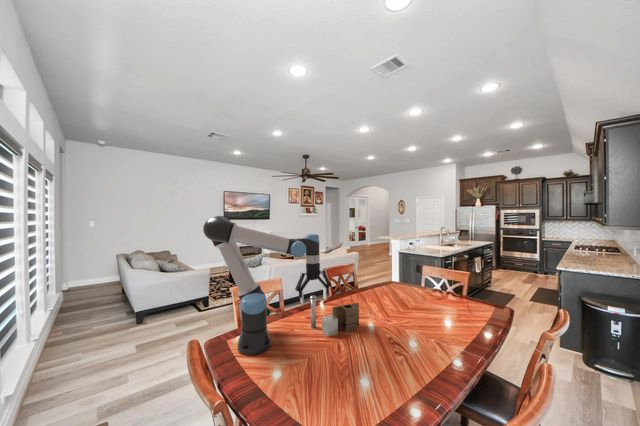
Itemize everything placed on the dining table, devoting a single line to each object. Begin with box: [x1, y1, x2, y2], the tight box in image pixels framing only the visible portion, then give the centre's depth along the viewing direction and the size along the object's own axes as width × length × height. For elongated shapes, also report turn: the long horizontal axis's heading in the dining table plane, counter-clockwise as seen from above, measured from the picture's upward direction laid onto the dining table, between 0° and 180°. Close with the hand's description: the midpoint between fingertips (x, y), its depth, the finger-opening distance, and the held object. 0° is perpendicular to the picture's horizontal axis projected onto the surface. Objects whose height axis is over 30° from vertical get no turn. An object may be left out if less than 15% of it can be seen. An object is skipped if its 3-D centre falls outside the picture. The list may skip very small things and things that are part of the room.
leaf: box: [321, 305, 356, 338], centre depth 139 cm, size 17×6×12 cm, turn 114°
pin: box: [309, 295, 317, 329], centre depth 144 cm, size 3×3×17 cm
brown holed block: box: [340, 302, 360, 333], centre depth 143 cm, size 11×6×12 cm, turn 114°
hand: (313, 301), depth 144 cm, fingers open, 13 cm apart
